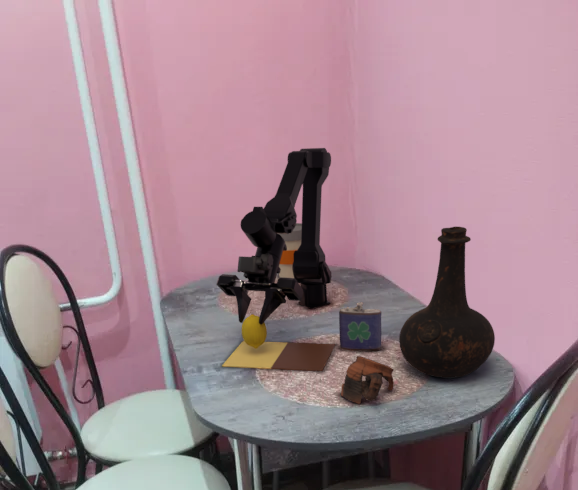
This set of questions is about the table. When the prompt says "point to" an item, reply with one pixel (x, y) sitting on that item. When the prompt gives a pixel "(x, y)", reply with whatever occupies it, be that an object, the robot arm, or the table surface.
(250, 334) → the lemon
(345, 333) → the flask
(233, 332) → the table surface
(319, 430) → the table surface
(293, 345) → the board
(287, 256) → the reusable coffee cup
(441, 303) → the glass bottle
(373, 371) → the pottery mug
